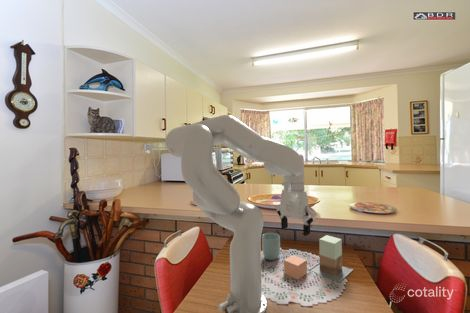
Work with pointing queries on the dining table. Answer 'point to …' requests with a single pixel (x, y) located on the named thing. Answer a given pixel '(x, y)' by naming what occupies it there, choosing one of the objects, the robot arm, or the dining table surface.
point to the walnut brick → (331, 265)
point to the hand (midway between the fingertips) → (295, 231)
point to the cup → (271, 245)
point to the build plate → (338, 277)
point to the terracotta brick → (295, 267)
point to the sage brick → (330, 247)
